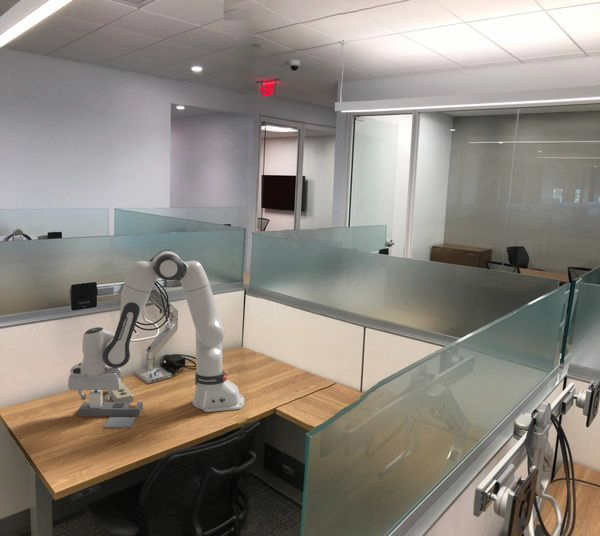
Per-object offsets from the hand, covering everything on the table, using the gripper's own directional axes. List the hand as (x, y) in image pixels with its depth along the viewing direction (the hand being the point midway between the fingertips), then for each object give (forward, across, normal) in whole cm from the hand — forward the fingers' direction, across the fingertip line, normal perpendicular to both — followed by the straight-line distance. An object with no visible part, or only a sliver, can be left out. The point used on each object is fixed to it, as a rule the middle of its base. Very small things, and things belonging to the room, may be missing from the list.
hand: (95, 399), depth 210 cm
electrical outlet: (+6, -6, -15) cm, 18 cm away
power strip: (+6, -6, 0) cm, 8 cm away
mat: (+6, -12, +9) cm, 17 cm away
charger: (+6, 0, 0) cm, 6 cm away
